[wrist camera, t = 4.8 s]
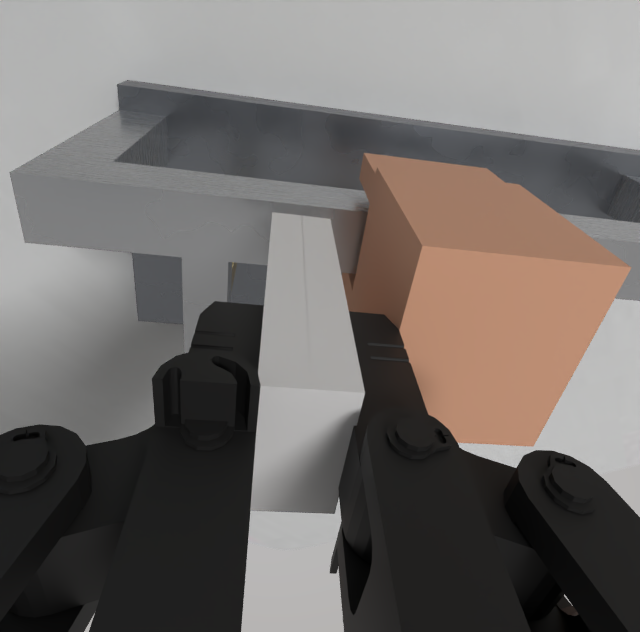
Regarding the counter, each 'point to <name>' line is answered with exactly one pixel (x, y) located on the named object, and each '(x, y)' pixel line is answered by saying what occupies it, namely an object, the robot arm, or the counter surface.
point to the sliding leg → (480, 292)
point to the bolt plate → (345, 164)
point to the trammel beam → (214, 210)
